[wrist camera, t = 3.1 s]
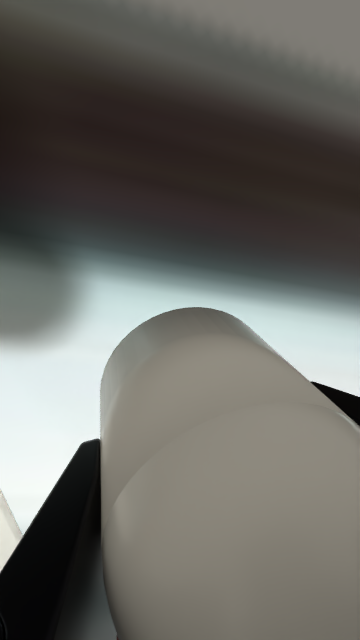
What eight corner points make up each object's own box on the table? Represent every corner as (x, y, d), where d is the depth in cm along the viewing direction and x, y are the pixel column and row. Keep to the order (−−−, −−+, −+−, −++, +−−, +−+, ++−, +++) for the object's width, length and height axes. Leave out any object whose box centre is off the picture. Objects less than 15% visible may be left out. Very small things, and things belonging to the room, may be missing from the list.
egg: (270, 433, 11) (496, 749, 5) (120, 476, 10) (155, 920, 4) (264, 290, 9) (625, 505, 3) (79, 329, 8) (22, 742, 2)
